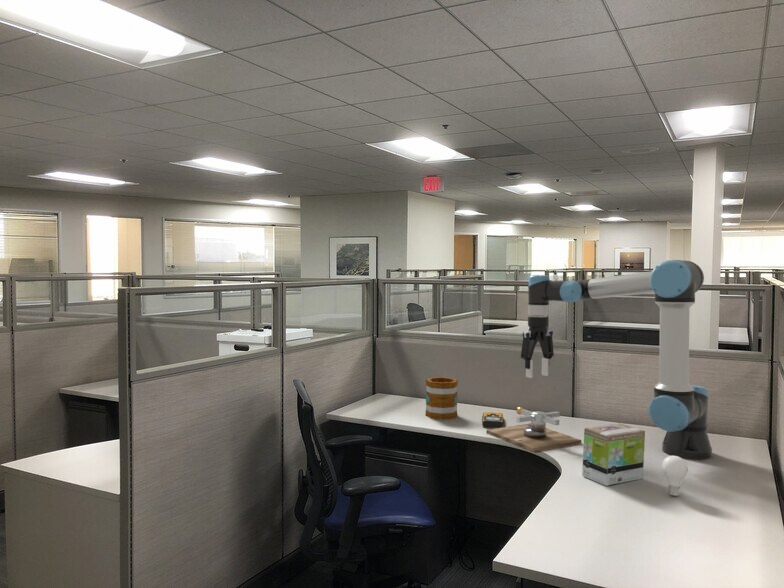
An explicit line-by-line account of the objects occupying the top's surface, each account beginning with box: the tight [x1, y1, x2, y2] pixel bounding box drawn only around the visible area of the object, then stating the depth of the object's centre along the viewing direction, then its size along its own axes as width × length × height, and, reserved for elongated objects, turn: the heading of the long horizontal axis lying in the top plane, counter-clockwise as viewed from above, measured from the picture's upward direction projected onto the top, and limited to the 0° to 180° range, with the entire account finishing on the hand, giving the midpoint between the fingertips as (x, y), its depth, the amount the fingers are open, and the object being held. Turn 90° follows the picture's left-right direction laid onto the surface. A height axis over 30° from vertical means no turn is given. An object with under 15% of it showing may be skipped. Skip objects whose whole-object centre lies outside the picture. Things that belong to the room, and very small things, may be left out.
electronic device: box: [481, 411, 504, 429], centre depth 240 cm, size 8×16×3 cm, turn 170°
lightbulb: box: [661, 455, 689, 497], centre depth 163 cm, size 6×6×11 cm
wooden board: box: [486, 422, 582, 453], centre depth 219 cm, size 26×22×2 cm
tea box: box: [581, 422, 646, 487], centre depth 177 cm, size 15×10×15 cm, turn 117°
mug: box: [425, 376, 459, 421], centre depth 254 cm, size 20×14×15 cm
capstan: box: [516, 406, 561, 438], centre depth 217 cm, size 21×19×8 cm
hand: (537, 376), depth 226 cm, fingers open, 8 cm apart
